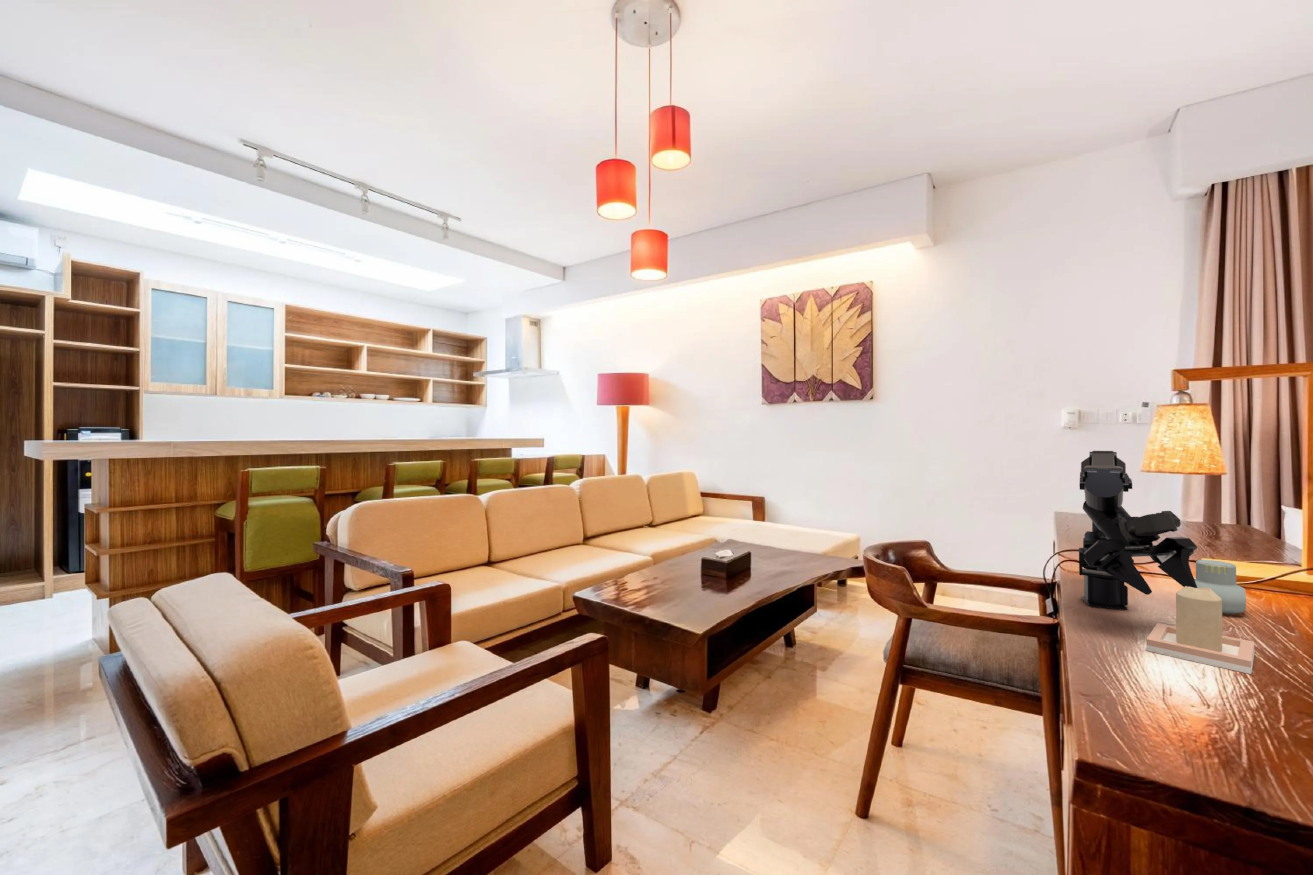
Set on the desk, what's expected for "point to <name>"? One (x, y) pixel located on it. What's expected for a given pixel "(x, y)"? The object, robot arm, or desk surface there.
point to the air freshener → (1221, 584)
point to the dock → (1203, 650)
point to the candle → (1199, 618)
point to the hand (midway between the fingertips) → (1172, 592)
